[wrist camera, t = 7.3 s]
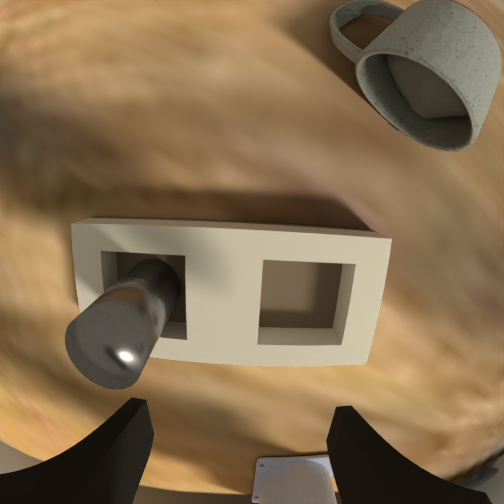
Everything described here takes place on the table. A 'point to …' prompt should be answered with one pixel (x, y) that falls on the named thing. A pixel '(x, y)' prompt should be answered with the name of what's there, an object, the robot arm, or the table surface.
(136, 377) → the pin
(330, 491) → the robot arm
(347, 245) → the board
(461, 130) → the ceramic mug
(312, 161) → the table surface
